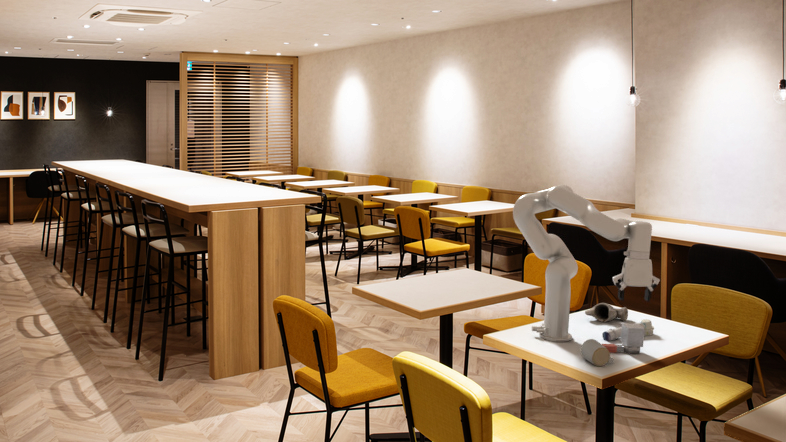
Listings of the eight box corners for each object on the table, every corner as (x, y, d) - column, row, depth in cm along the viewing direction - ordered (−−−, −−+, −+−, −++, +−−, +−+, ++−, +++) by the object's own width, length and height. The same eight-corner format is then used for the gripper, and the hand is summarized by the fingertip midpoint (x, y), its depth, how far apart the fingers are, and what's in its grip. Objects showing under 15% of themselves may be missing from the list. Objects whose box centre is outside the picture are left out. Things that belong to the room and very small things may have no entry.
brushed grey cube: (626, 346, 223) (628, 328, 222) (620, 341, 228) (621, 323, 228) (643, 346, 223) (644, 328, 222) (636, 341, 229) (637, 323, 228)
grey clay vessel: (598, 334, 272) (589, 324, 261) (590, 317, 277) (581, 306, 266) (633, 320, 266) (625, 309, 255) (625, 303, 272) (616, 291, 261)
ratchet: (605, 354, 223) (607, 333, 222) (599, 348, 229) (600, 327, 228) (642, 354, 223) (644, 333, 222) (635, 348, 229) (637, 328, 228)
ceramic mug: (592, 368, 208) (594, 346, 207) (579, 359, 216) (581, 339, 215) (618, 366, 211) (620, 345, 210) (605, 358, 219) (607, 337, 218)
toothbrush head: (600, 329, 240) (646, 314, 251) (601, 345, 242) (646, 330, 252) (610, 333, 236) (656, 318, 246) (611, 349, 237) (657, 333, 247)
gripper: (618, 256, 217) (614, 302, 220) (666, 257, 218) (661, 303, 220) (611, 252, 225) (607, 297, 227) (656, 253, 225) (652, 298, 228)
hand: (634, 300), depth 224 cm, fingers open, 9 cm apart
